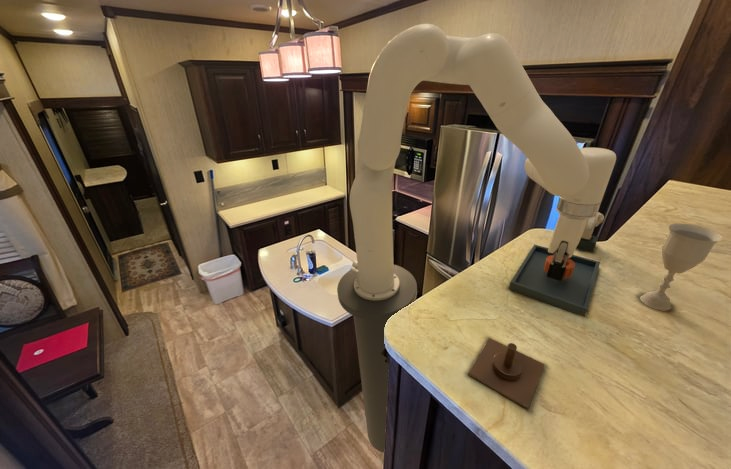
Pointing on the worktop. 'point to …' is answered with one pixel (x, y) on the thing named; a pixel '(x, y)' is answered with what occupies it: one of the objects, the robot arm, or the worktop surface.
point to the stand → (507, 371)
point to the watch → (590, 234)
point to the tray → (556, 281)
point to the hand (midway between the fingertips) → (557, 271)
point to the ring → (569, 266)
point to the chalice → (680, 258)
